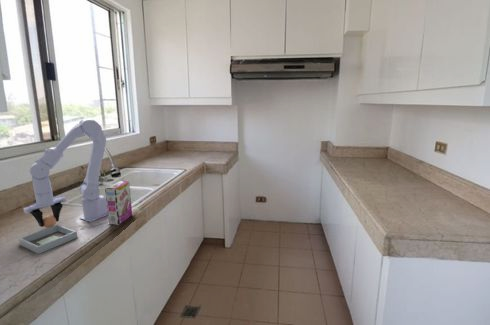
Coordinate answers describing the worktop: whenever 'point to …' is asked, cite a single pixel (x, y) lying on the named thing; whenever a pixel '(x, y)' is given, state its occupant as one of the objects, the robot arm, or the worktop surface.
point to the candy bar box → (118, 202)
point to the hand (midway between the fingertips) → (49, 223)
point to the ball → (49, 221)
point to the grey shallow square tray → (49, 241)
